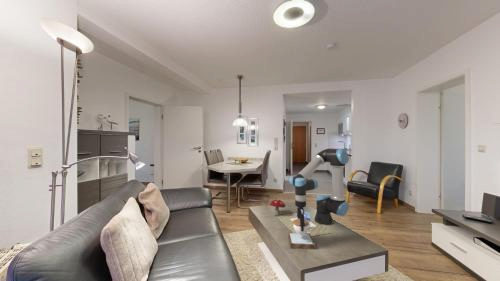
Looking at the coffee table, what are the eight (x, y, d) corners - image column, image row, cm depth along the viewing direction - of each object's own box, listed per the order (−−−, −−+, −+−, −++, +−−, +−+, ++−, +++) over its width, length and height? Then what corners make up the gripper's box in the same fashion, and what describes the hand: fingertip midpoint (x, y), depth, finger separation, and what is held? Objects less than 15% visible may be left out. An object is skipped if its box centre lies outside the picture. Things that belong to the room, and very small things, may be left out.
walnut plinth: (309, 237, 147) (309, 233, 147) (314, 249, 132) (314, 244, 132) (288, 236, 149) (288, 232, 149) (290, 248, 133) (290, 243, 133)
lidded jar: (299, 237, 133) (299, 223, 133) (289, 230, 143) (289, 218, 143) (311, 234, 137) (311, 221, 137) (301, 228, 147) (301, 215, 147)
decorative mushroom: (267, 212, 198) (267, 197, 198) (282, 211, 201) (282, 196, 200) (272, 218, 182) (271, 202, 182) (288, 217, 185) (288, 201, 185)
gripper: (293, 195, 152) (293, 224, 152) (297, 205, 129) (297, 239, 129) (303, 195, 151) (303, 224, 151) (309, 205, 128) (309, 239, 128)
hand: (300, 231), depth 140 cm, fingers closed on lidded jar, 11 cm apart
